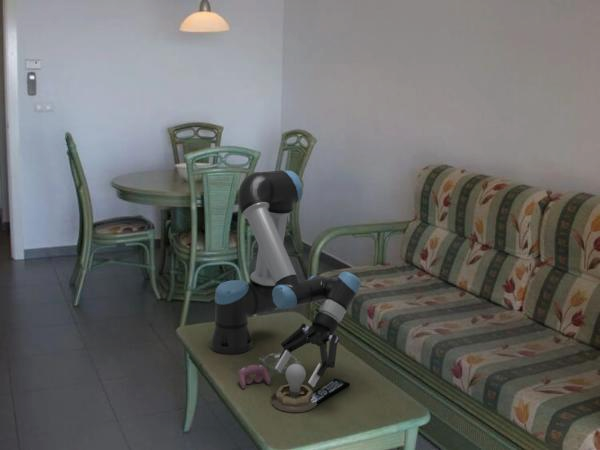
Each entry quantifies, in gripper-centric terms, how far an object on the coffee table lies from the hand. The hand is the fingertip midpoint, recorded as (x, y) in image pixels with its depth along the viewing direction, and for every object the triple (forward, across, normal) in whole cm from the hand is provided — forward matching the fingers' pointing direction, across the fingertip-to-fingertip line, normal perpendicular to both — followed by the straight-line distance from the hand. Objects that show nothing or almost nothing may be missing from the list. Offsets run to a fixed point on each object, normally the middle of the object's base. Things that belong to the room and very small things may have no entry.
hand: (293, 377), depth 206 cm
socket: (+5, 0, -6) cm, 8 cm away
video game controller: (+6, +18, -6) cm, 20 cm away
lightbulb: (+5, 0, -6) cm, 7 cm away
